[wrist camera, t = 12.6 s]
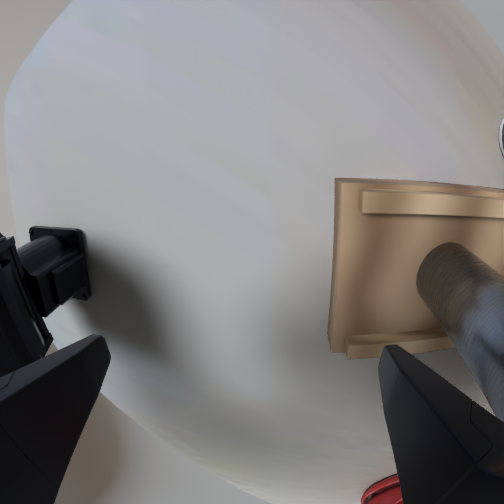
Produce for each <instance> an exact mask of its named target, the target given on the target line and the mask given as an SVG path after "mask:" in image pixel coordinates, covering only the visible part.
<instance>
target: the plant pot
mask: <svg viewBox="0 0 504 504" xmlns="http://www.w3.org/2000/svg"><path fill="white" fill-rule="evenodd" d="M361 504H403V500H402V494H401V488H400V483H399V478H398V475H395V476H392V477H389V478H387V479H384V480H382V481H380V482H378V483H376V484H374V485H373V486H372V487H370V488H369V489H368V490H367V491H366V492H365V493H364V494H363V496H362V498H361Z"/></svg>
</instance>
